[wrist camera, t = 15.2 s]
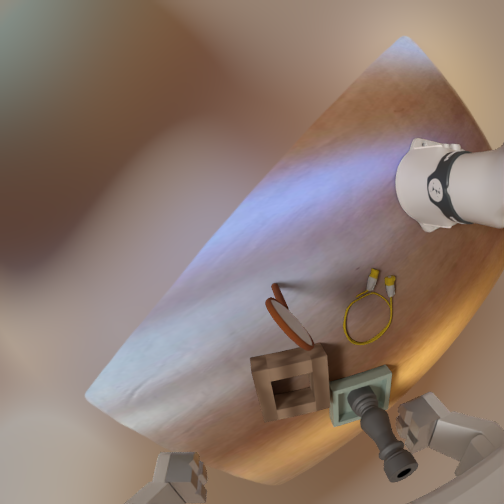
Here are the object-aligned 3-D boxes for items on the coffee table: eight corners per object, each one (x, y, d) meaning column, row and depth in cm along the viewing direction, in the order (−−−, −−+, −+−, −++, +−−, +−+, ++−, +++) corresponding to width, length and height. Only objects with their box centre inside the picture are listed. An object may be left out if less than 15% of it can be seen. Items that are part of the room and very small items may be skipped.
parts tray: (385, 364, 57) (392, 372, 54) (382, 400, 60) (388, 409, 56) (327, 382, 57) (332, 392, 53) (329, 417, 59) (333, 427, 56)
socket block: (319, 342, 54) (327, 355, 49) (324, 393, 57) (330, 407, 52) (250, 357, 54) (251, 372, 49) (262, 407, 57) (264, 422, 52)
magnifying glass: (253, 271, 50) (266, 321, 31) (260, 264, 50) (277, 311, 31) (286, 303, 52) (314, 365, 32) (293, 297, 52) (325, 356, 32)
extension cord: (411, 291, 54) (416, 294, 52) (366, 350, 56) (370, 355, 54) (374, 260, 52) (379, 263, 50) (326, 326, 54) (329, 331, 52)
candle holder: (367, 380, 56) (418, 457, 32) (374, 395, 58) (420, 469, 33) (343, 393, 57) (385, 476, 32) (351, 408, 58) (390, 486, 34)
